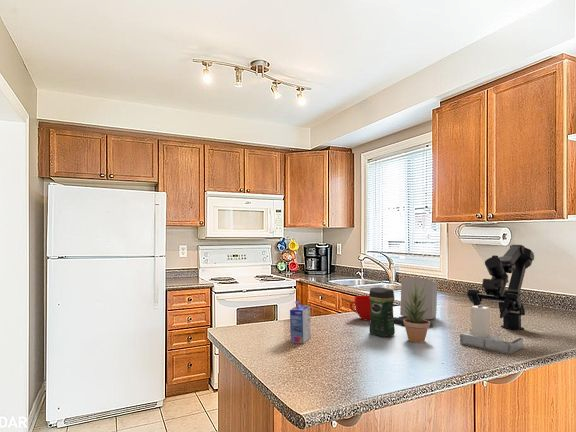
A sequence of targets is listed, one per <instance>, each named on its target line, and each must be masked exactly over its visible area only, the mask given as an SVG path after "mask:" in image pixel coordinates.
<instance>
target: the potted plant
mask: <svg viewBox="0 0 576 432" xmlns="http://www.w3.org/2000/svg"><path fill="white" fill-rule="evenodd" d="M414 277H415V283H414V284H415V297H414V294H413V292H412V289H411V286H410V292H411V297H410V295H409V293H408V297H409V300H410V303H411V305H409V304H408V303H407V302H406V301H405V303H406V304H407V306H408V307H409V309H410V310H409V309H408V308H407V307H406V305H405V304H404V305H405V308H406V310H407V311H406V310H405V312H406V313H407V314H408V315H409V318H408V317H407V316H406V317H407V318H408V319H404V320H403V322H404V325H405V326H404V327H405V332H406V335H407V339H408V341H410V342H413V343H424V342H425V341H426V337H427V335H428V334H427V333H428V331H429V327H430V322H431V321H430V322H429V320H428V319H423V318H424V317H423V318H421V317H422V316H423V315H424V313H425V312H426V311H427V310H428V309H429V308H428V309H426V310H425V311H424V310H422V311H420V309H421V308H422V306H423V304H424V302H425V297H426V295H425V297H424V298H423V299H422V300H420V299H421V296H422V294H423V292H424V289H425V287H426V284H427V280H426V283H425V285H424V287H423V289H422V291H420V293H419V295H418V287H417V290H416V277H417V276H416V275H414ZM420 318H421V319H420ZM430 328H431V327H430Z"/></svg>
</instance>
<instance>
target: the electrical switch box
mask: <svg viewBox="0 0 576 432" xmlns="http://www.w3.org/2000/svg"><path fill="white" fill-rule="evenodd" d="M426 280H427V284H426V287H425V289H424V292H423V294H422V296H421V299H420V300H422V299H423V298H424V297H425V295H426V297H425V302H424V304H423V306H422V308H421V309H420V311H422V310H424V311H425V310H426V309H428V308H429V309H428V310H427V311H426V312H425V313H424V315H423V316H422V317H421V318H423V317H424V318H423V320H431V319H436V318H437V312H438V311H437V310H438V309H437V307H438V306H437V305H438V304H437V303H438V302H437V301H438V297H437V296H438V285H437V281H435V280H432V279H427V278H424V277H423V278H422V277H420V276H416V290H417V287H418V295H419V293H420V291H422V289H423V287H424V285H425V283H426ZM400 282H401V284H400V285H401V286H400V310H399V312H400V314H399V315H400V316H401V317H402V316H409V315H408V314H407V313H406V312H405V310H406V308H405V305H406V307H407V308H408V309H409V307H408V306H407V304H406V303H405V301H406V302H407V303H408V304H409V305H411V303H410V300H409V297H408V293H409V295H410V297H411V292H410V286H411V289H412V292H413V294H414V297H415V284H414V283H415V276H412V277H405V278H401V281H400ZM404 304H405V305H404ZM409 310H410V309H409ZM406 311H407V310H406ZM421 318H420V319H421Z"/></svg>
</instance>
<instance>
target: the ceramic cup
mask: <svg viewBox="0 0 576 432" xmlns="http://www.w3.org/2000/svg"><path fill="white" fill-rule="evenodd" d="M353 304H354V308H355V309H354V308H353ZM349 308H350V310H351V311H352V312H354V313H356V314H357V316H359V318H360V319H361V320H363V321H369V322H370V313H371V303H370V299H369V295H357V296H355V297H354V301H351V302H350V303H349Z"/></svg>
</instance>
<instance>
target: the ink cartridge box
mask: <svg viewBox="0 0 576 432" xmlns="http://www.w3.org/2000/svg"><path fill="white" fill-rule="evenodd" d="M294 303H295V305H296V306H294V307H293V308H291V309H289V321H290V322H289V327H290V330H289V331H290V343H291V344H292V343H293V344H301V345H302V344H305V343H306V342H307V341H308V340H309V339H310V338H311V306H310V305H303V304H301V303H300V301H299V300H296V301H294Z"/></svg>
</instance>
